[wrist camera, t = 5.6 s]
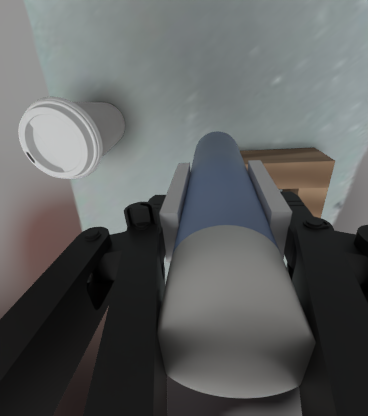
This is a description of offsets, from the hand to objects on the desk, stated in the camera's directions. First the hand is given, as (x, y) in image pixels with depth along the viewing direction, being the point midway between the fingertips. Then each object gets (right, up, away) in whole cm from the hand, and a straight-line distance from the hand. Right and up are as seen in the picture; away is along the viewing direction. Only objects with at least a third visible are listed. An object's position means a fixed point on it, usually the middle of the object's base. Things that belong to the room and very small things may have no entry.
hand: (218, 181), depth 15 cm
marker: (+1, +3, +6) cm, 7 cm away
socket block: (+12, +2, +26) cm, 29 cm away
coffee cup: (-15, +13, +23) cm, 31 cm away
